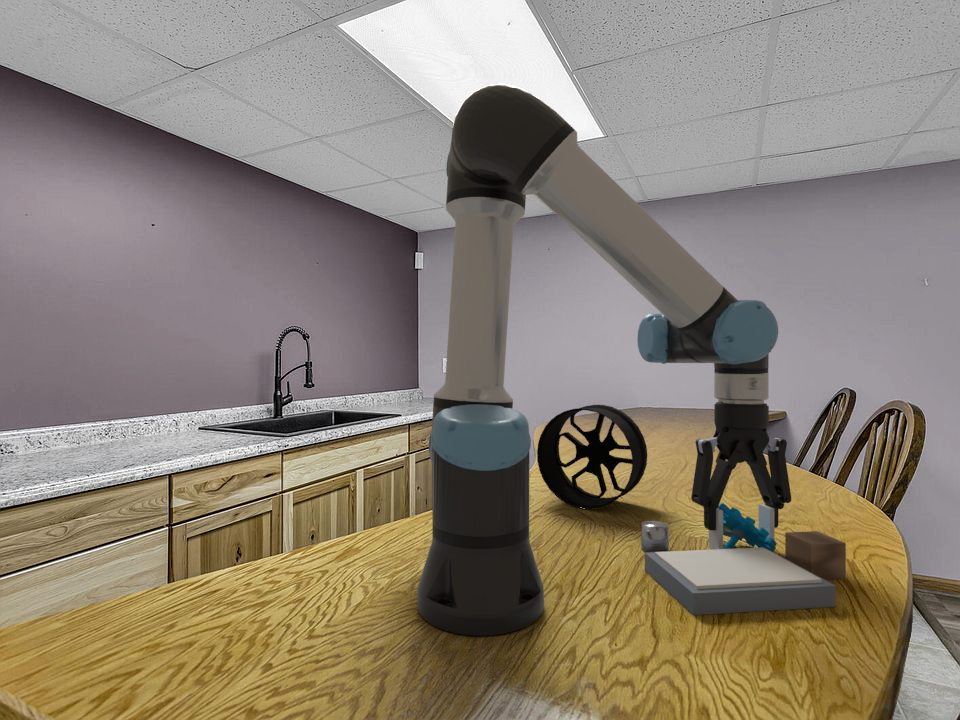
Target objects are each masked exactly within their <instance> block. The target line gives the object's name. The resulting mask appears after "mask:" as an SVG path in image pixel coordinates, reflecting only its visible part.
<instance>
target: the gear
mask: <svg viewBox="0 0 960 720" xmlns="http://www.w3.org/2000/svg"><path fill="white" fill-rule="evenodd" d="M718 508H719V509H721V510H723V537H724V536H725V537H728V538H729V540H728V541H727V542H726V543H725V545H723V549H734V547H735V546H736V544H737V543H738V541H742V540H745V543H747V545H749V546H751V547H752V548H755V546H756V548H759V547H765V548H767V549H768V550H770V551H772V552H774V553H775V551H774V550H776V549H777V547H776V546H777V545H778V543H777V542H776V540H774V539H772V538H770V537H769V538H767V536H768V535H769V532H767V531H766V530H765V529H764V528H760V529H759V528H757V527H756V526H755V524H756V520H755V519H753V518H751V517H750V516H746V517H744V516H743V515H742V513H741V511H740V510H739V509H737V508H735V507H731V508H729V507H728V505H726V504H725V503H724V502H720V503H719V506H718ZM707 542H708V543H709V540H707Z"/></svg>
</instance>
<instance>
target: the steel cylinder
mask: <svg viewBox="0 0 960 720" xmlns="http://www.w3.org/2000/svg"><path fill="white" fill-rule="evenodd" d="M640 526H641V529H640V531H641V535H640V536H641V546H640V547H641V551H642V552H643V553H644V554H645V553H648V552H667V551H669V550H670V549H669V545H670V544H669V542H670V541H669V531H670V530H669V524H667V523H665V522H663V521H659V520H658V521H657V520H645V521H642V522H641V525H640Z"/></svg>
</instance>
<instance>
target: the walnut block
mask: <svg viewBox="0 0 960 720" xmlns="http://www.w3.org/2000/svg"><path fill="white" fill-rule="evenodd" d="M784 533H785V536H784V537H785V538H784V540H785V541H784V542H785V543H784V545H785V547H784V548H785V549H784V550H785V551H784V555H785V557H784V558H785V559H787V560H789V561H791V562H793V563H794V564H796V565H798V566H800V567H802V568H804V569H806V570H808V571H809V572H811V573H813V574H815V575H817V576H819V577H821V578H822V579H824V580H826V581H828V582H830V581H846V579H847V577H846V574H847V572H846V571H847V570H846V567H847V565H846V564H847V563H846V560H847V559H846V558H847V557H846V554H847V553H846V551H847V550H846V548H847V547H846V546H847V545H846V542H844V541H843V540H839V539H837V538H835V537H832V536H830V535H828V534H825V533H823V532H820V531H818V530H816V531H815V530H814V531H811V530H810V531H794V532H793V531H791V532H790V531H789V532H788V531H786V532H784Z"/></svg>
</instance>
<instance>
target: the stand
mask: <svg viewBox="0 0 960 720" xmlns="http://www.w3.org/2000/svg"><path fill="white" fill-rule="evenodd" d="M644 571H645V572H646V573H647V574H648V575H649V576H650V577H651V578H652V579H654V580H655V582H657V584H658V585H660V586H661V587H662V588H663V589H664V590H665V591H666V592H668V593H669V595H671V597H673V598H674V599H675V600H676V601H677V602H679V603H680V604H681V605H682V606H683V607H684V608H685V609H686V611H688V612H689V613H690V614H691V615H692V616H701V615H714V614H715V615H716V614H734V613H750V612H751V613H753V612H764V611H765V612H766V611H767V612H769V611H771V612H772V611H784V610H801V609H819V608H833V607H834V608H836V607H837V603H836V602H837V599H836V598H837V593H836V592H837V589H836V588H837V587H836V585H835V584H833V583H831V582H830V581H826V580H824V579H822V578H821V577H819V576H817V575H815V574H813V573H811V572H809V571H808V570H806V569H804V568H802V567H800V566H798V565H796V564H794V563H793V562H791V561H789V560H787V559H785V557H783V556H781V555H779V554H777V553H776V552H775V551H774V552H772V551H770V550H768V549H767V548H765V547H759V548H758V547H738V548H736V547H735V548H733V549H713V550H711V549H694V550H672V551H667V552H648V553H645V552H644Z"/></svg>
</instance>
